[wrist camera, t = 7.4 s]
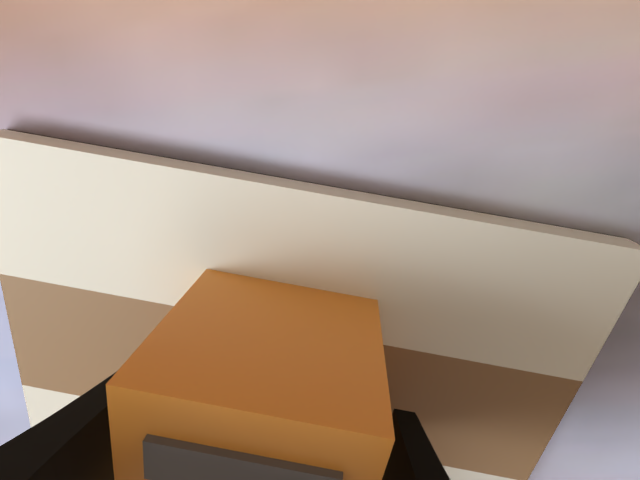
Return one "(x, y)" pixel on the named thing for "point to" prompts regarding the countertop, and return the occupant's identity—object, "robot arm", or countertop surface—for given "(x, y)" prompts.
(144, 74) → the countertop surface
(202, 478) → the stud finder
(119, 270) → the drywall panel
